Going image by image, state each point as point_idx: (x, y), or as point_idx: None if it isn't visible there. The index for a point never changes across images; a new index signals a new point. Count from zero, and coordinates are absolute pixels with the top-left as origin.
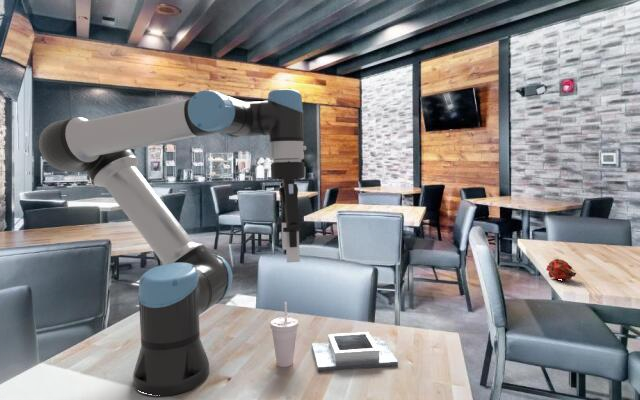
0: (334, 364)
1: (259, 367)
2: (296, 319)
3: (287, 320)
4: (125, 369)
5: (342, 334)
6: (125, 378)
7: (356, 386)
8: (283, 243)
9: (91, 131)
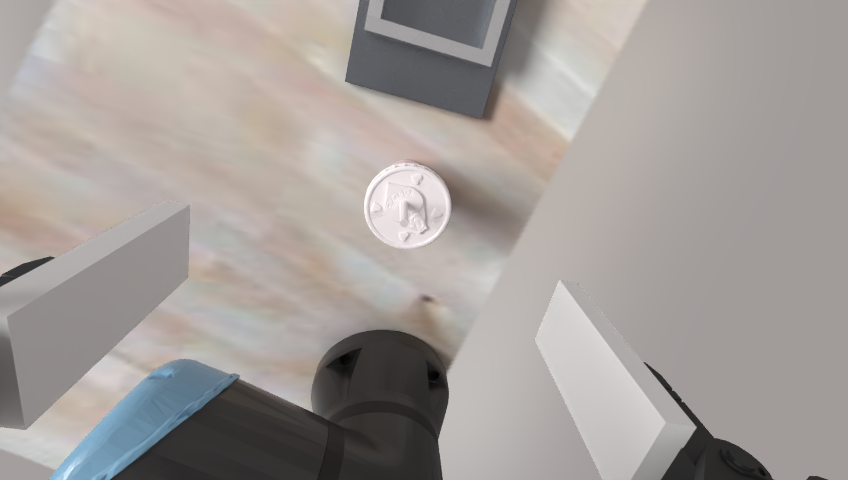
0: (486, 72)
1: None
2: (404, 168)
3: (406, 199)
4: None
5: None
6: None
7: (579, 58)
8: (163, 292)
9: None
